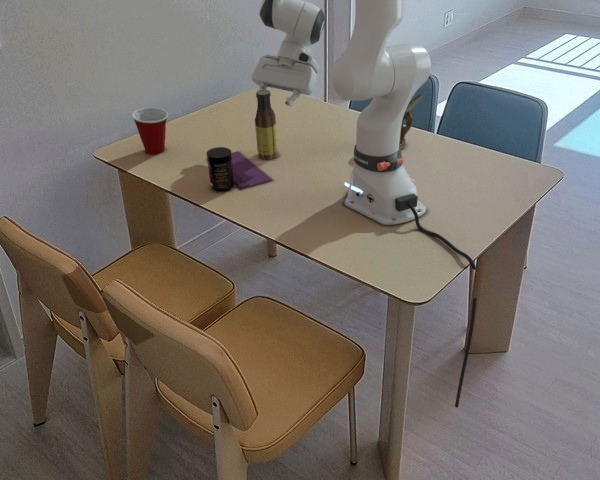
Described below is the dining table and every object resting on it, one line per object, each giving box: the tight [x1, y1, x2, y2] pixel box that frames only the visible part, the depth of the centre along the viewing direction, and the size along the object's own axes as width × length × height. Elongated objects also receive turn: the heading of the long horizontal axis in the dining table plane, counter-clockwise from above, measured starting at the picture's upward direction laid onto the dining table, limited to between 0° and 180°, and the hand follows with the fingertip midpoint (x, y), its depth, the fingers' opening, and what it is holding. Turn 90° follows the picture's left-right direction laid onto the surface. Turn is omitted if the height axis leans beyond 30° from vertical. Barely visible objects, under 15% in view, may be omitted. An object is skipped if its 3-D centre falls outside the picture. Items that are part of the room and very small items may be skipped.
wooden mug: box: [399, 93, 422, 151], centre depth 196 cm, size 9×14×18 cm, turn 51°
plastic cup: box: [131, 107, 169, 155], centre depth 199 cm, size 11×11×12 cm
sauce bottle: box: [254, 89, 279, 160], centre depth 192 cm, size 7×6×20 cm
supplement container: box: [206, 146, 235, 193], centre depth 179 cm, size 7×7×10 cm
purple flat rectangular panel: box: [231, 151, 273, 190], centre depth 191 cm, size 22×10×1 cm, turn 30°
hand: (274, 102), depth 192 cm, fingers open, 8 cm apart
